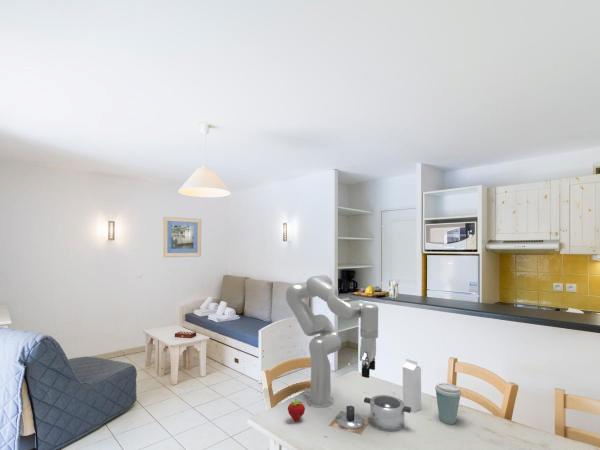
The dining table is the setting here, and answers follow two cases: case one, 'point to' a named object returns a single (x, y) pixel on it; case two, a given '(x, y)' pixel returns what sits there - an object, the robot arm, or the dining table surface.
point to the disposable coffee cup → (447, 401)
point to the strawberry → (296, 410)
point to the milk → (412, 385)
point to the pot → (387, 412)
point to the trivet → (350, 429)
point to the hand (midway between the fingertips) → (368, 373)
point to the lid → (350, 419)
